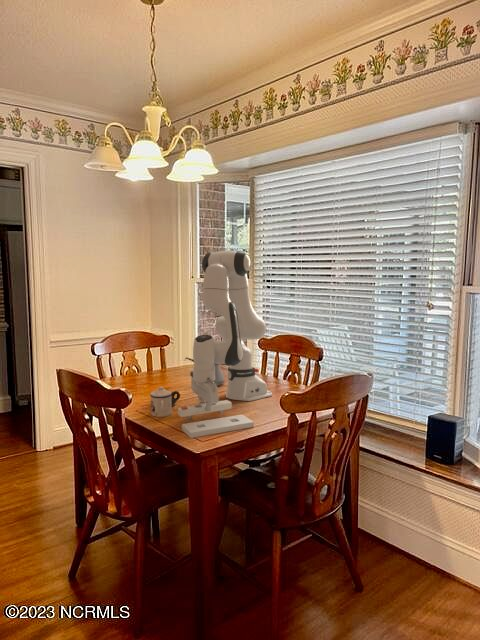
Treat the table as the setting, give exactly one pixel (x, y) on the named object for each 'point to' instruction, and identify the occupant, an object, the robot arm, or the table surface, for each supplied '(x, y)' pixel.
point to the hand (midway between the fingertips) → (205, 408)
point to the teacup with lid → (161, 402)
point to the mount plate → (217, 425)
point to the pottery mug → (174, 398)
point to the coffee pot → (216, 374)
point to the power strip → (200, 409)
